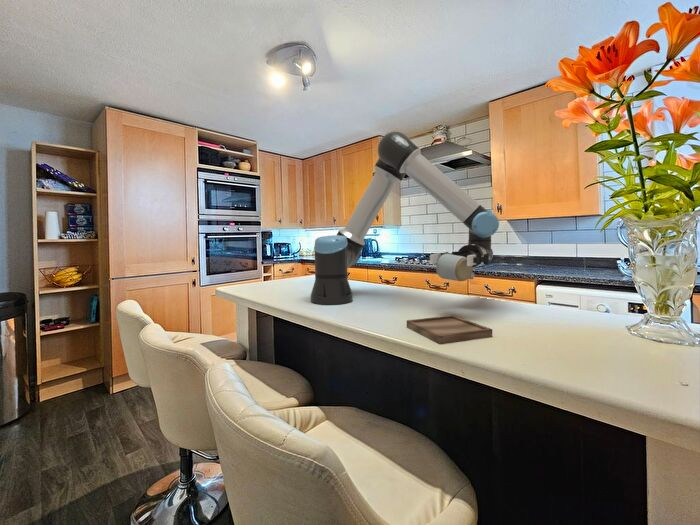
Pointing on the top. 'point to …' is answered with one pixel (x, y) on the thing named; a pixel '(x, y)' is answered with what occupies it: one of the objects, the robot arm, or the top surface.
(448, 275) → the ceramic mug
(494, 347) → the top surface
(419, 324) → the walnut board
